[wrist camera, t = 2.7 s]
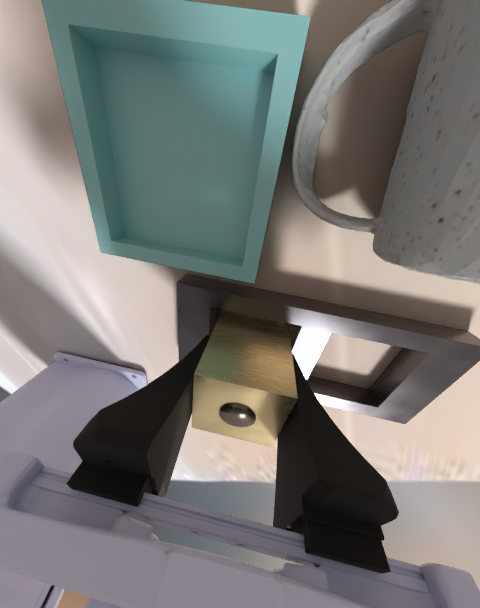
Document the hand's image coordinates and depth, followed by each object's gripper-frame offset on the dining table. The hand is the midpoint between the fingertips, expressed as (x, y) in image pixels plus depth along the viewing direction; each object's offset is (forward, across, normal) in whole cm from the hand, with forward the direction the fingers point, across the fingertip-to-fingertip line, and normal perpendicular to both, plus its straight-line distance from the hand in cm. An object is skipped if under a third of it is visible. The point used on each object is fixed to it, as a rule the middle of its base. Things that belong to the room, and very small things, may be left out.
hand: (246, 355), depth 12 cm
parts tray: (+2, +5, -10) cm, 11 cm away
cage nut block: (+2, 0, 0) cm, 2 cm away
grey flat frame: (+2, -4, 0) cm, 4 cm away
